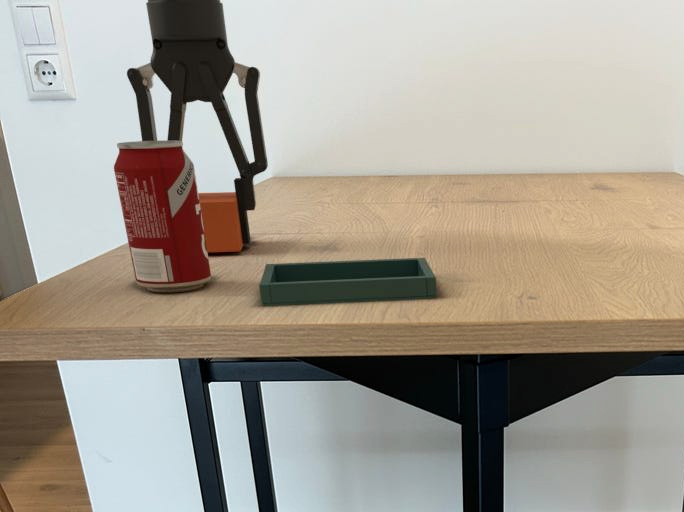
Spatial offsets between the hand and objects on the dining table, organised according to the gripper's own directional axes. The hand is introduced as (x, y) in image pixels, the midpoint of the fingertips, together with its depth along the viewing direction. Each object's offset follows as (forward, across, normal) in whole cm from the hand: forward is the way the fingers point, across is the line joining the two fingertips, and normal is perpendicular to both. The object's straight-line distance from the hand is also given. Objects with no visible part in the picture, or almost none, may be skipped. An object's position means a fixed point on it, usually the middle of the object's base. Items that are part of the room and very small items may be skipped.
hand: (218, 242), depth 106 cm
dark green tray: (+1, -14, +30) cm, 33 cm away
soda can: (+1, +2, +23) cm, 23 cm away
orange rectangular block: (0, 0, 0) cm, 0 cm away
